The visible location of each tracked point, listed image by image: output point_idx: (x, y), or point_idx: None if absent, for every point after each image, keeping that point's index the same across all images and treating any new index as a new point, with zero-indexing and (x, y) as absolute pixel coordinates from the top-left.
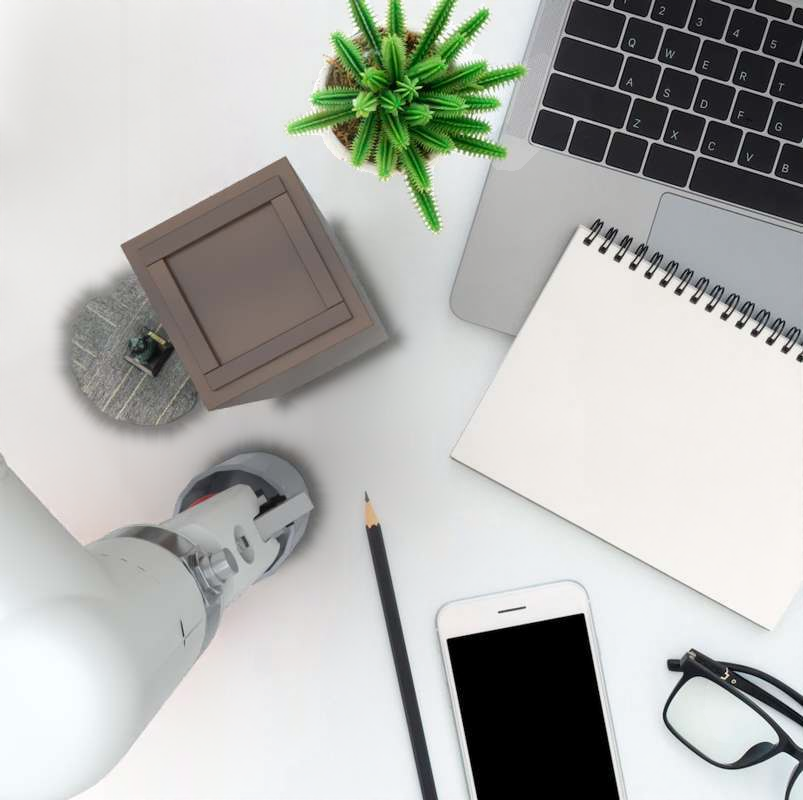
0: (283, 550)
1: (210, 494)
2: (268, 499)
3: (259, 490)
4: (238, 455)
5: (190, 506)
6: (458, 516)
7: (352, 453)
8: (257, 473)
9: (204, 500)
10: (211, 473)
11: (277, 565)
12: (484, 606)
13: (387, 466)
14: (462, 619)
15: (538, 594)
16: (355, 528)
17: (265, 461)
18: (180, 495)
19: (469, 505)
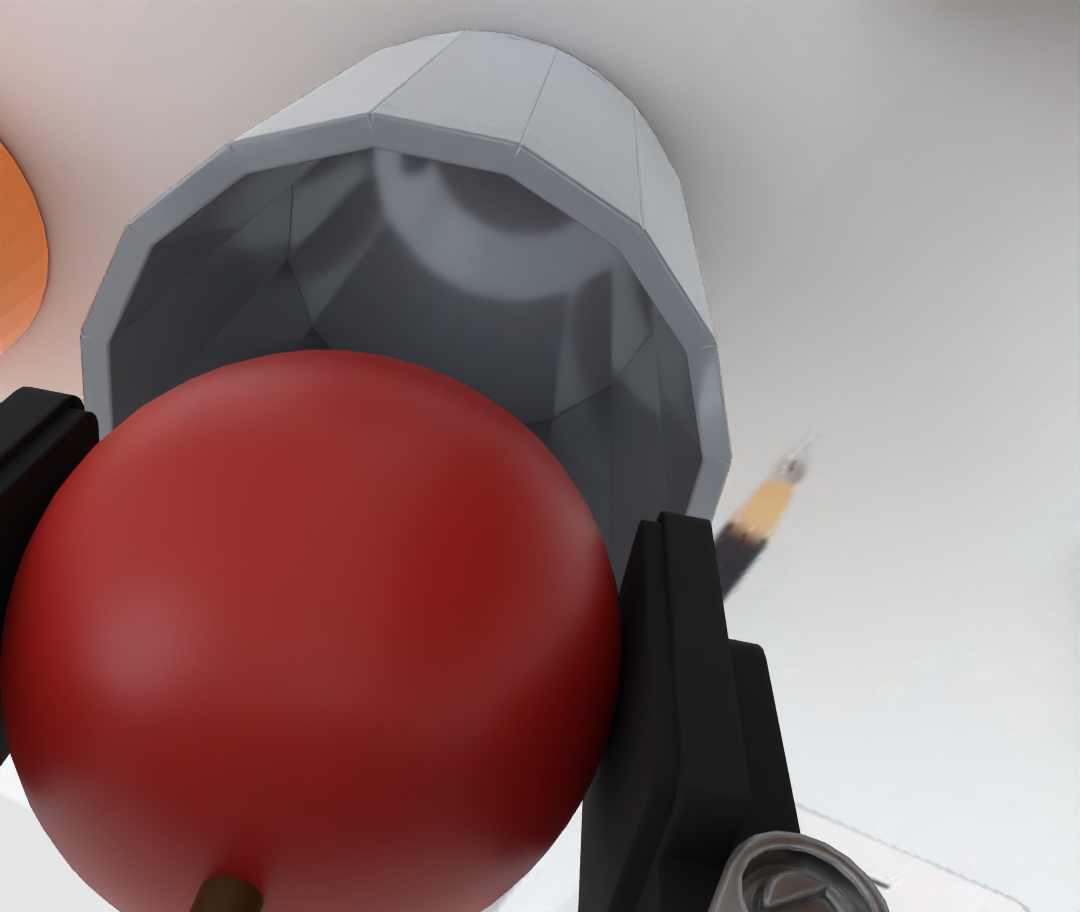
0: None
1: (436, 412)
2: (760, 710)
3: (715, 560)
4: (560, 61)
5: (259, 430)
6: (960, 660)
7: (882, 323)
8: (684, 331)
9: (384, 480)
10: (474, 164)
11: None
12: (811, 837)
13: (933, 430)
14: None
15: (937, 886)
16: None
17: (672, 203)
18: (240, 149)
19: (1011, 657)
